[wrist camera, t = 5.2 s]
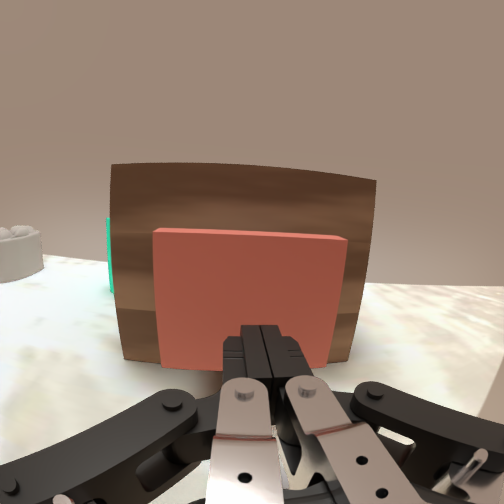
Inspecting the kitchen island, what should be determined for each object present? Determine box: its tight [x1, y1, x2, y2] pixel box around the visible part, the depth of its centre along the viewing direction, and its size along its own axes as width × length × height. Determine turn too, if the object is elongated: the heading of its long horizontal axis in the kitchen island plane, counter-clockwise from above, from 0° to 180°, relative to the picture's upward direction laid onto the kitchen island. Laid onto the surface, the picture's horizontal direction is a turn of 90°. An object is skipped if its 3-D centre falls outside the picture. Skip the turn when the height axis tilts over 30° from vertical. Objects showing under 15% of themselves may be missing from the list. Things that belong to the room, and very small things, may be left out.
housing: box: [110, 163, 376, 363], centre depth 26 cm, size 12×20×16 cm, turn 96°
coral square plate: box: [153, 228, 348, 371], centre depth 19 cm, size 10×10×8 cm
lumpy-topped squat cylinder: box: [0, 226, 44, 283], centre depth 35 cm, size 10×13×9 cm
